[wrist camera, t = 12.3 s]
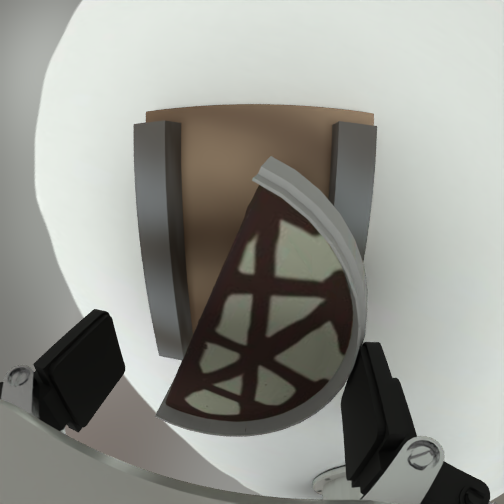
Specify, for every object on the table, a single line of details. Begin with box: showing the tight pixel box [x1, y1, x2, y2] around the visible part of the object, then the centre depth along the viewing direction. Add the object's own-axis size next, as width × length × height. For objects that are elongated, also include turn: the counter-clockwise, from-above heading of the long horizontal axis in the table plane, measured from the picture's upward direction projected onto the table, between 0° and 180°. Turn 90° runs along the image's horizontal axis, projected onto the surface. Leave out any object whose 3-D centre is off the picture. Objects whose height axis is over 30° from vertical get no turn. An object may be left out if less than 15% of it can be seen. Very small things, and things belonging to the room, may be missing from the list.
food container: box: [155, 156, 367, 436], centre depth 13 cm, size 12×6×10 cm, turn 156°
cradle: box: [134, 104, 377, 360], centre depth 18 cm, size 18×14×4 cm
